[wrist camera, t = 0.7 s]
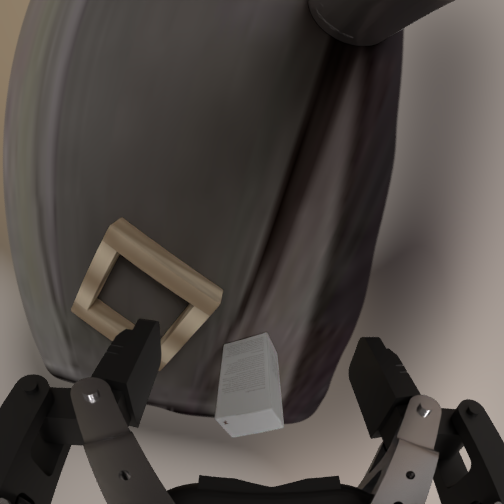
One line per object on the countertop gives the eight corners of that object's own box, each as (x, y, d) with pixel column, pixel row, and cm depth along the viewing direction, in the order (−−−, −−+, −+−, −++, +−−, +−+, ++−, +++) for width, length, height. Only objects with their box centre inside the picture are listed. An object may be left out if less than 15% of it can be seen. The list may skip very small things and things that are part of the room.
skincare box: (236, 365, 38) (230, 438, 27) (223, 343, 36) (212, 419, 25) (279, 353, 37) (285, 429, 26) (268, 330, 35) (271, 408, 24)
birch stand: (121, 217, 30) (109, 225, 27) (223, 289, 33) (220, 304, 30) (81, 298, 34) (70, 310, 31) (165, 356, 37) (159, 371, 35)
